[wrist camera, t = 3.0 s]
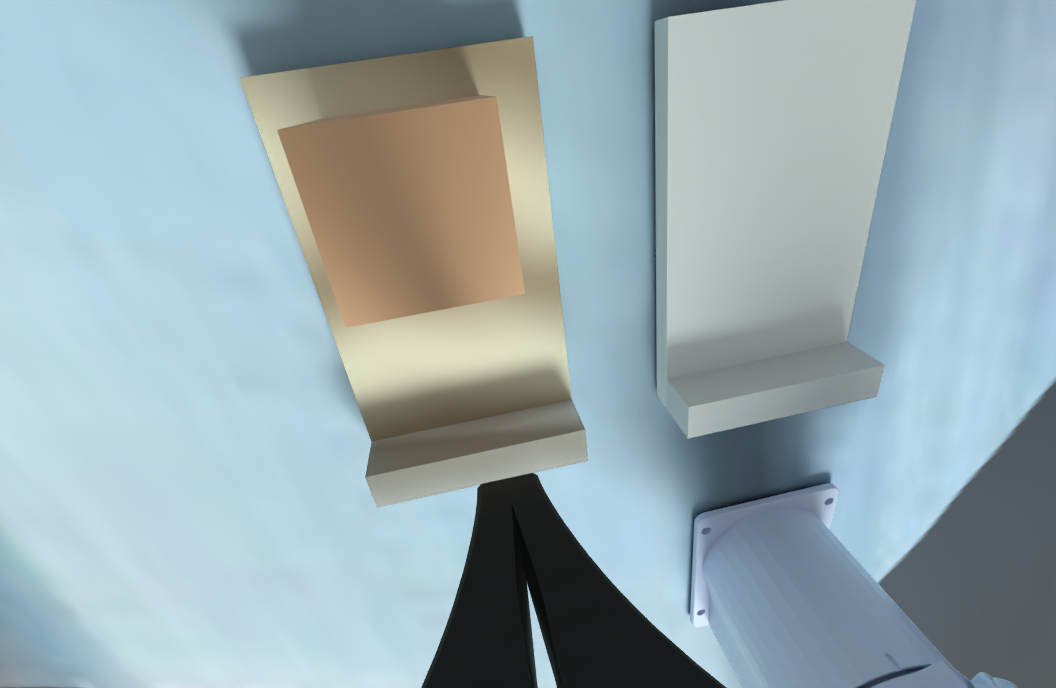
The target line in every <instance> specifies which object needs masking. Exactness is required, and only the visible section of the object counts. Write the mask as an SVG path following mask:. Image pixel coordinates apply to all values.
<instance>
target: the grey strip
mask: <svg viewBox="0 0 1056 688" xmlns="http://www.w3.org/2000/svg"><path fill="white" fill-rule="evenodd" d="M915 4H916V0H783V1H776V2H769V3H762V4H755V5H748V6H741V7H734V8H727V9H720V10H713V11H706V12H699V13H692V14H685V15H678V16H671V17H666V18H663V19H660V20H657V21H655V165H656V325H657V397H658V399H659V400H660V401H661V403H662V404H663V405H664V407H665V408H666V409H667V411H668V412H669V414H670V415H671V416H672V418H673V419H674V420H675V422H676V423H677V425H678V426H679V427H680V429H681V430H682V431H683V433H684V434H685V435H686V437H687V438H693V437H697V436H702V435H706V434H711V433H715V432H720V431H724V430H729V429H733V428H738V427H742V426H747V425H751V424H756V423H760V422H765V421H769V420H774V419H778V418H783V417H787V416H792V415H796V414H801V413H805V412H810V411H814V410H819V409H823V408H828V407H832V406H837V405H841V404H846V403H850V402H855V401H859V400H864V399H868V398H873V397H877V393H878V389H879V385H880V381H881V377H882V373H883V369H884V364H882V363H880V362H879V361H877V360H875V359H874V358H872V357H871V356H869V355H867V354H866V353H864V352H862V351H861V350H859V349H857V348H856V347H854V346H852V345H851V344H849V343H848V342H847V337H848V332H849V327H850V322H851V317H852V312H853V308H854V303H855V298H856V293H857V288H858V283H859V278H860V273H861V268H862V264H863V259H864V254H865V249H866V244H867V239H868V234H869V229H870V224H871V220H872V215H873V210H874V205H875V200H876V195H877V190H878V185H879V180H880V176H881V171H882V166H883V161H884V156H885V151H886V146H887V141H888V136H889V132H890V127H891V122H892V117H893V112H894V107H895V102H896V97H897V92H898V87H899V83H900V78H901V73H902V68H903V63H904V58H905V53H906V48H907V43H908V39H909V34H910V29H911V24H912V19H913V14H914V9H915Z"/></svg>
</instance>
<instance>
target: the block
mask: <svg viewBox="0 0 1056 688" xmlns="http://www.w3.org/2000/svg"><path fill="white" fill-rule="evenodd" d="M277 132H278V134H279V137H280V140H281V143H282V146H283V149H284V152H285V155H286V158H287V160H288V163H289V166H290V169H291V172H292V175H293V178H294V181H295V184H296V186H297V189H298V192H299V195H300V198H301V201H302V204H303V207H304V210H305V212H306V215H307V218H308V221H309V224H310V227H311V230H312V233H313V236H314V238H315V241H316V244H317V247H318V250H319V253H320V256H321V259H322V262H323V264H324V267H325V270H326V273H327V276H328V279H329V282H330V285H331V288H332V290H333V293H334V296H335V299H336V302H337V305H338V308H339V311H340V314H341V316H342V319H343V322H344V325H345V328H348V327H353V326H358V325H364V324H369V323H374V322H380V321H385V320H390V319H395V318H401V317H406V316H411V315H417V314H422V313H427V312H432V311H438V310H443V309H448V308H454V307H459V306H464V305H469V304H475V303H480V302H485V301H491V300H496V299H501V298H506V297H512V296H517V295H522V294H525V290H524V283H523V276H522V269H521V262H520V255H519V248H518V241H517V234H516V228H515V221H514V214H513V207H512V200H511V193H510V186H509V179H508V172H507V165H506V158H505V151H504V145H503V138H502V131H501V124H500V117H499V110H498V103H497V97H496V96H486V95H475V96H468V97H462V98H455V99H449V100H442V101H435V102H429V103H422V104H416V105H409V106H402V107H396V108H389V109H383V110H376V111H369V112H363V113H356V114H350V115H343V116H336V117H330V118H323V119H319V120H315V121H311V122H307V123H303V124H299V125H295V126H291V127H287V128H283V129H279V130H277Z"/></svg>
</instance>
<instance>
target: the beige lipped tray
mask: <svg viewBox="0 0 1056 688" xmlns="http://www.w3.org/2000/svg"><path fill="white" fill-rule="evenodd" d="M240 80H241V83H242V86H243V88H244V91H245V94H246V97H247V99H248V102H249V105H250V108H251V111H252V113H253V116H254V119H255V122H256V124H257V127H258V130H259V133H260V135H261V138H262V141H263V144H264V146H265V149H266V152H267V155H268V157H269V160H270V163H271V166H272V168H273V171H274V174H275V177H276V179H277V182H278V185H279V188H280V190H281V193H282V196H283V199H284V201H285V204H286V207H287V210H288V212H289V215H290V218H291V221H292V224H293V226H294V229H295V232H296V235H297V237H298V240H299V243H300V246H301V248H302V251H303V254H304V257H305V259H306V262H307V265H308V268H309V270H310V273H311V276H312V279H313V281H314V284H315V287H316V290H317V292H318V295H319V298H320V301H321V303H322V306H323V309H324V312H325V314H326V317H327V320H328V323H329V326H330V328H331V331H332V334H333V337H334V339H335V342H336V345H337V348H338V350H339V353H340V356H341V359H342V361H343V364H344V367H345V370H346V372H347V375H348V378H349V381H350V383H351V386H352V389H353V392H354V394H355V397H356V400H357V403H358V405H359V408H360V411H361V414H362V416H363V419H364V422H365V425H366V428H367V430H368V433H369V436H370V439H371V441H372V442H371V448H370V454H369V459H368V465H367V471H366V476H365V478H366V480H367V483H368V485H369V488H370V491H371V493H372V496H373V498H374V501H375V504H376V506H377V508H378V507H382V506H387V505H391V504H396V503H400V502H405V501H409V500H414V499H418V498H423V497H427V496H432V495H436V494H441V493H445V492H450V491H454V490H459V489H463V488H468V487H472V486H477V485H481V484H483V483H487V482H492V481H496V480H501V479H506V478H510V477H515V476H519V475H524V474H529V473H535V472H540V471H544V470H549V469H553V468H558V467H562V466H567V465H571V464H576V463H580V462H585V461H588V454H587V444H586V433H585V428H584V426H583V424H582V422H581V419H580V417H579V415H578V413H577V410H576V408H575V406H574V404H573V401H572V398H571V388H570V379H569V370H568V360H567V351H566V342H565V332H564V323H563V314H562V304H561V295H560V286H559V277H558V267H557V258H556V249H555V239H554V230H553V221H552V211H551V202H550V193H549V183H548V174H547V165H546V155H545V146H544V137H543V128H542V118H541V109H540V100H539V90H538V81H537V72H536V62H535V53H534V44H533V36H530V37H523V38H516V39H509V40H502V41H495V42H488V43H481V44H474V45H467V46H459V47H452V48H445V49H438V50H431V51H424V52H417V53H410V54H403V55H396V56H389V57H382V58H375V59H368V60H361V61H354V62H347V63H340V64H333V65H326V66H319V67H312V68H305V69H298V70H291V71H284V72H276V73H269V74H262V75H255V76H248V77H241V78H240ZM475 95H486V96H496V97H497V103H498V110H499V117H500V124H501V131H502V138H503V145H504V151H505V158H506V165H507V172H508V179H509V186H510V193H511V200H512V207H513V214H514V221H515V228H516V234H517V241H518V248H519V255H520V262H521V269H522V276H523V283H524V290H525V294H522V295H517V296H512V297H506V298H501V299H496V300H491V301H485V302H480V303H475V304H469V305H464V306H459V307H454V308H448V309H443V310H438V311H432V312H427V313H422V314H417V315H411V316H406V317H401V318H395V319H390V320H385V321H380V322H374V323H369V324H364V325H358V326H353V327H348V328H345V325H344V322H343V319H342V316H341V314H340V311H339V308H338V305H337V302H336V299H335V296H334V293H333V290H332V288H331V285H330V282H329V279H328V276H327V273H326V270H325V267H324V264H323V262H322V259H321V256H320V253H319V250H318V247H317V244H316V241H315V238H314V236H313V233H312V230H311V227H310V224H309V221H308V218H307V215H306V212H305V210H304V207H303V204H302V201H301V198H300V195H299V192H298V189H297V186H296V184H295V181H294V178H293V175H292V172H291V169H290V166H289V163H288V160H287V158H286V155H285V152H284V149H283V146H282V143H281V140H280V137H279V134H278V132H277V130H279V129H283V128H287V127H291V126H295V125H299V124H303V123H307V122H311V121H315V120H319V119H323V118H330V117H336V116H343V115H350V114H356V113H363V112H369V111H376V110H383V109H389V108H396V107H402V106H409V105H416V104H422V103H429V102H435V101H442V100H449V99H455V98H462V97H468V96H475Z"/></svg>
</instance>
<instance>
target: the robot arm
mask: <svg viewBox="0 0 1056 688" xmlns="http://www.w3.org/2000/svg"><path fill="white" fill-rule="evenodd" d="M838 493H839V490H838V488H837V487H836V486H835V485H834V484H832V483H826V484H822V485H818V486H814V487H809V488H805V489H801V490H797V491H793V492H788V493H784V494H780V495H776V496H771V497H767V498H763V499H759V500H755V501H750V502H746V503H742V504H738V505H733V506H729V507H725V508H721V509H717V510H712V511H708V512H704V513H701V514H699V515H698V516H697V517H696V518H695V521H694V542H693V564H692V587H691V609H690V621H691V623H692V625H693V626H694V627H702V626H706V625H710V627H711V629H712V631H713V633H714V635H715V637H716V639H717V640H718V642H719V644H720V646H721V648H722V650H723V652H724V654H725V656H726V658H727V660H728V662H729V664H730V666H731V668H732V670H733V671H734V673H735V675H736V677H737V679H738V681H739V683H740V685H741V687H742V688H1018V687H1016V685H1014V684H1013V683H1012V682H1010V681H1007V680H1003V679H1000V678H992V677H991V676H990V675H988V674H986V673H983V672H981V673H978V674H977V675H976V676H975V677H974V678H973V679H972V680H968V679H967V678H966V677H964V676H963V675H962V674H961V673H959V672H958V671H957V670H956V669H954V668H953V667H952V666H951V664H950V663H949V662H948V661H947V660H946V659H945V658H944V657H943V656H942V654H941V653H940V652H939V651H938V650H937V649H936V648H935V647H934V646H933V644H932V643H931V642H930V641H929V640H928V639H927V638H926V637H925V635H924V634H923V633H922V632H921V631H920V630H919V629H918V628H917V627H916V625H914V623H913V622H912V621H911V620H910V619H909V618H908V617H907V615H906V614H905V613H904V612H903V611H902V610H901V609H900V608H899V607H898V605H897V604H896V603H895V602H894V601H893V600H892V599H891V598H890V597H889V595H888V594H887V593H886V592H885V591H884V590H883V589H882V588H881V587H880V585H879V584H878V583H877V582H876V581H875V580H874V579H873V578H872V577H871V575H870V574H869V573H868V572H867V571H866V570H865V569H864V568H863V567H862V566H861V564H860V563H859V562H858V561H857V560H856V559H855V558H854V557H853V556H852V554H851V553H850V552H849V551H848V550H847V549H846V548H845V547H844V546H843V544H842V543H841V542H840V541H839V540H838V539H837V538H836V537H835V536H834V534H833V533H832V532H831V531H830V527H831V522H832V518H833V514H834V510H835V505H836V501H837V497H838ZM527 584H528V587H529V591H530V594H531V598H532V601H533V605H534V608H535V612H536V615H537V618H538V622H539V625H540V629H541V632H542V636H543V639H544V643H545V646H546V650H547V653H548V656H549V660H550V663H551V667H552V670H553V674H554V677H555V681H556V685H557V688H726V687H725V686H724V685H722V684H721V683H720V682H719V681H717V680H716V679H715V678H714V677H713V676H711V675H710V674H709V673H708V672H706V671H705V670H704V669H703V668H701V667H700V666H699V665H698V664H697V663H695V662H694V661H693V660H692V659H691V658H690V657H689V656H687V655H686V654H685V653H684V652H683V651H682V650H681V649H680V648H678V647H677V646H676V645H675V644H674V643H673V642H672V641H671V640H669V639H668V638H667V637H666V636H665V635H664V634H663V633H662V632H660V631H659V630H658V629H657V628H656V627H655V626H654V625H653V624H652V623H651V622H650V621H649V620H648V619H647V618H646V617H645V616H644V615H643V614H642V613H641V612H640V611H639V610H638V609H637V608H636V607H635V606H634V605H633V604H632V603H631V602H630V601H629V600H628V599H627V598H626V597H625V596H624V595H623V594H622V593H621V592H620V591H619V590H618V589H617V588H616V586H615V585H614V584H613V583H612V582H611V581H610V580H609V579H608V577H607V576H606V575H605V574H604V573H603V572H602V571H601V569H600V568H599V567H598V566H597V565H596V563H595V562H594V561H593V560H592V559H591V557H590V556H589V555H588V554H587V552H586V551H585V550H584V549H583V547H582V546H581V545H580V543H579V542H578V541H577V539H576V538H575V537H574V535H573V534H572V532H571V531H570V530H569V528H568V527H567V526H566V524H565V523H564V521H563V520H562V518H561V517H560V515H559V514H558V512H557V511H556V509H555V508H554V506H553V504H552V503H551V501H550V500H549V498H548V496H547V494H546V492H545V491H544V489H543V487H542V485H541V483H540V480H539V478H538V476H537V475H536V474H534V473H529V474H524V475H519V476H515V477H510V478H506V479H501V480H496V481H492V482H487V483H483V484H481V485H480V486H479V487H478V488H477V507H476V515H475V521H474V527H473V532H472V537H471V542H470V546H469V550H468V555H467V559H466V563H465V567H464V571H463V574H462V578H461V581H460V584H459V588H458V591H457V594H456V598H455V601H454V604H453V607H452V610H451V613H450V616H449V619H448V622H447V625H446V628H445V631H444V633H443V636H442V639H441V641H440V644H439V646H438V649H437V652H436V654H435V657H434V659H433V661H432V664H431V666H430V669H429V671H428V673H427V676H426V678H425V680H424V683H423V685H422V688H538V687H537V679H536V669H535V659H534V649H533V639H532V629H531V619H530V609H529V600H528V590H527Z"/></svg>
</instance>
